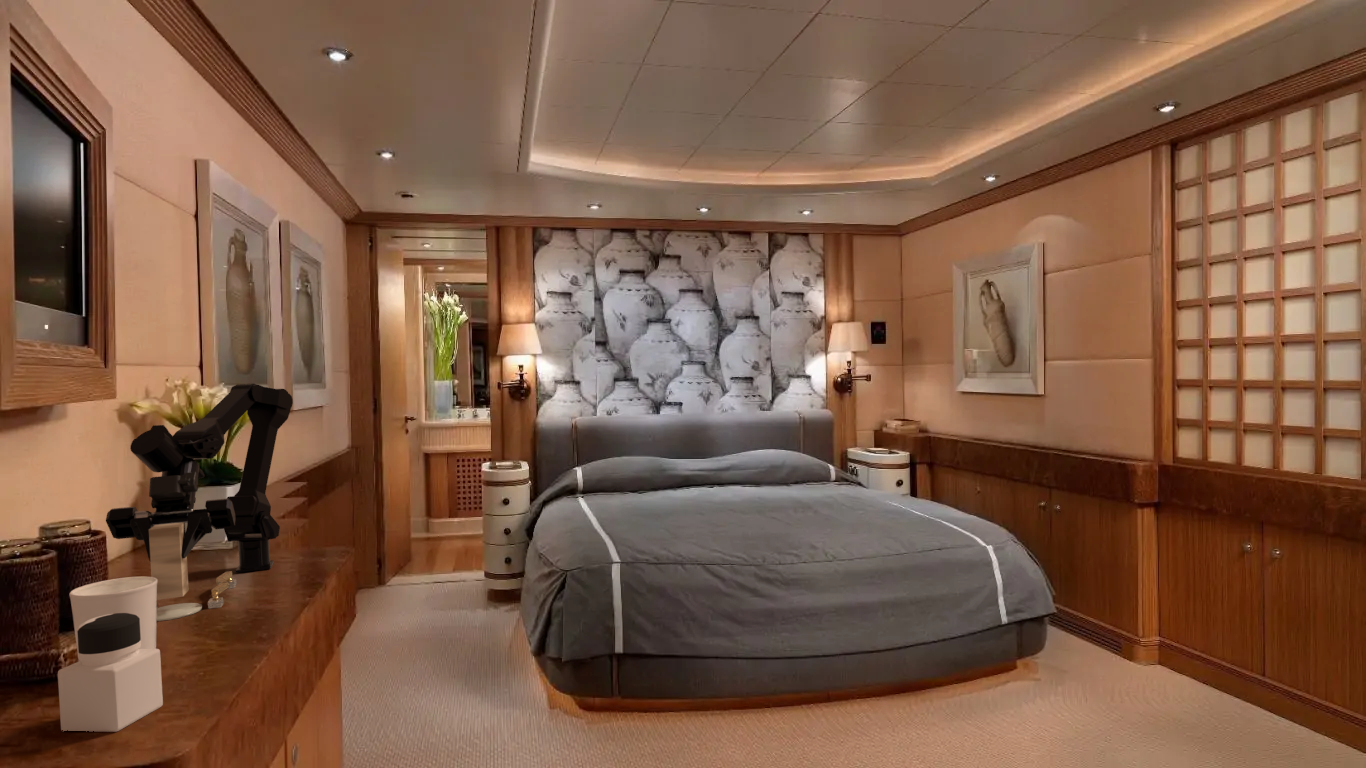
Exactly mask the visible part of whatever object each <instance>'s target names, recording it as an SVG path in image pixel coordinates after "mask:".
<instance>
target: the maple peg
mask: <svg viewBox="0 0 1366 768" xmlns="http://www.w3.org/2000/svg"><path fill="white" fill-rule="evenodd" d="M185 533H186V523H185V522H183V523H172V524H162V525H154V526H153V527H152V528H150V529H149V543H150V561H151V562H150V561H149V562H150V573H151V574H150V575H151V576H150V577H154V578H157V580H158V583H157V601H158V600H159V601H160V600H167V599H174V598H175V599H176V598H181V597H182V598H183V597H185V595H186V594H187V593H188V592H189V590H190V588H189V573H188V558H187V557H188V555H187V556H186V558H182V556H181V554H182V545H183V541H184V537H185Z"/></svg>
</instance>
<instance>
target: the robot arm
mask: <svg viewBox="0 0 1366 768" xmlns="http://www.w3.org/2000/svg"><path fill="white" fill-rule="evenodd" d="M293 402H294V400H293V396H292V395H291V394H290V393H289V391H288V390H287V389H285V388H272V387H268V386H262V385H260V384H256V383H237V384H235V385H233V386H231V388H230V391H229V393H227V394H226V395H225V396H224V397H223V398H222V399H221V400H220V401H219V402H217V404H216V405H214V407H213V408H212V409H210V411H209V412H208V413H207V414H205V415H204V417H202V418H200V419H199V420H198V421H194V422H191V423H188V424H186V425H185V426H183V427H182V428H180V429H178V430H177V431H176V432H175V433H174V434H172V433H171V432H170V431H169V430H168V428H167V427H166V426H165V425H164V424H155V425H154V424H153V425H152V426H151V427H150V429H148V430H147V431H144V432H142V433H141V434H139V435H138V436H137V437H136V438H134V439H133V440H132V441H131V443H130V451H131V453H132V454H133V455H134V456H135V457H136V458H138V459H139V460H140V461H141V462H142V463H143V464H144V465H145V466H146V467H147V468H148V469H149V470H150V471H151V472H154V473H161V475H160V476H152V477H150V478H149V490H148V497H149V498H151V502H150V506H151V507H152V509H155V511H154V512H151V511H149V510H137V506H129V507H127V506H126V507H116V508H111V509H110V510H108V511H107V513H106V518H105V523H106V525H107V527H108V529H109V531H110V534H111V536H112V538H113V539H116V540H121V539H133V538H135V539H136V540H137V541H143V542H144V545H145V550H146V554H147V558H148V560H149V563H151V561H150V543H149V529H150V528H152V527H153V526H155V525H162V524H172V523H183V522H185V524H187V526H186V528H185V537H184V541H183V545H182V554H181V556H182V558H186V556H187V557H188V555H189V554H190V552H191V551H192V550H193V548H194V547H195V546H196V545H197V544H198V542H200V540H201V539H202V538H204V537H205V535H207V534H211V533H213V529H215V530H222V529H223V531H224V533H225V537H226V540H227V542H229V543H230V542H237V544H238V545H237V546H238V561H239V563H238V565H237V567H236V569H235V573H247V572H251V571H252V572H254V571H262V570H270V569H271V568H272V567H273V564H274V563H275V562H274V560H271V557H270V556H271V555H270V540H275V539H276V538H278V537H279V536H280V529H281V528H280V527H281V526H280V525H279V524H278V522H277V521H276V520H275V519H274V517H273V516H272V515H271V512H272V511H271V509H272V506H271V504H270V501H269V500H268V497H267V494H266V492H267V487H268V481H269V475H270V471H271V466H272V461H273V456H274V455H273V454H274V451H275V446H276V440H277V434H278V431H279V429H280V428H281V427H282V426H283V425H284V423H285V422H286V421H287V420H289V416H290V413H291V409H292V407H293V404H294V403H293ZM244 414H247V417H248V419H249V421H250V423H251V431H250V437H249V441H248V446H247V451H246V457H245V460H244V466H243V469H242V475H241V480H240V486H239V489H238V491H237V492H236V493H235V494H234V495H233V496H227V498H218V499H208V500H206V501H205V506H204V507H205V508H201V509H194V507H195V504H196V500H197V499H196V493H197V492H198V489H199V479H202V478H204V477H205V473H204V471H203V469H201V468H200V464H199V463H198V462H197V461H196V460H210V459H211V460H212V459H213V458H215V457H216V456H217V455H218V454H219V452H220V450H221V449H222V447H223V446H224V444H225V435H226V433H227V432H228V431H229V430H230V429H231V428H232V427H233V426H234V424H236V423H237V422H238V420H240V419H241V417H242V416H244Z"/></svg>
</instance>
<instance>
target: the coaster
mask: <svg viewBox="0 0 1366 768" xmlns="http://www.w3.org/2000/svg"><path fill="white" fill-rule="evenodd" d="M202 609H203V604H201V603H197V602H182V603H176V604H168V605H164V606H160V607H157V619H156V622H162V621H163V622H164V621H169V620H176V619H180V618H184V617H188V616H191V615H193V614H194V615H195V614H196V613H198V612H200V611H201V610H202Z"/></svg>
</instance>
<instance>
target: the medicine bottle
mask: <svg viewBox="0 0 1366 768" xmlns="http://www.w3.org/2000/svg"><path fill="white" fill-rule="evenodd" d="M76 634H77V645H76V651H77V659H79V660H81V661H79V660H78V661H76V662H75V663H72V664H69V665H68V666H65V667H63V668H60V669H59V670H58V671H57V683H58V685H57V686H58V700H59V716H60V717H59V718H60V730H61V731H62V730H63V731H62V732H64V731H67V730H68V731H86V733H88V732H87V731H89V733H90V732H92V733H93V731H94V732H97V733H98V732H99V733H100V732H101V733H102V732H103V733H104V732H105V733H106V732H107V733H109V732H110V733H113V732H114V733H116V732H119V731H121V730H123V729H124V728H127V727H128V726H130V725H131V724H134V723H135V722H137V721H138V720H140V719H142V718H144V717H145V716H147V715H149V714H151V713H153V712H155V711H156V710H158V709H160V708H161V707H162V706H163V705H164V700H163V699H164V698H163V682H162V663H161V661H162V659H161V650H160V649H159V648H156V649H138V648H140V647H141V636H140V618H139V617H138V616H136V615H134V614H129V613H115V614H108V615H103V616H99V617H95V618H92V619H90V620H88V621H86V622H84V623H82V624H81V625H79V627H78V628H77V629H76Z"/></svg>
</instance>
